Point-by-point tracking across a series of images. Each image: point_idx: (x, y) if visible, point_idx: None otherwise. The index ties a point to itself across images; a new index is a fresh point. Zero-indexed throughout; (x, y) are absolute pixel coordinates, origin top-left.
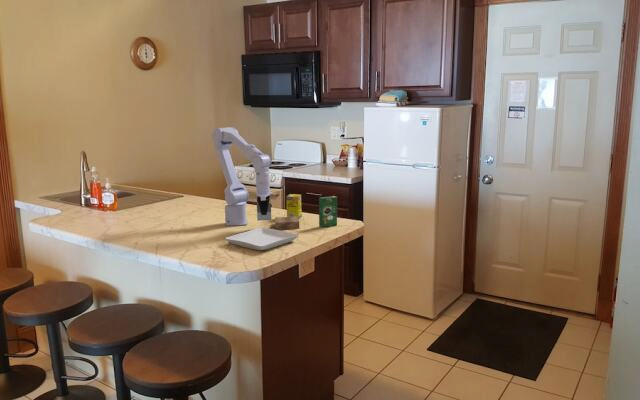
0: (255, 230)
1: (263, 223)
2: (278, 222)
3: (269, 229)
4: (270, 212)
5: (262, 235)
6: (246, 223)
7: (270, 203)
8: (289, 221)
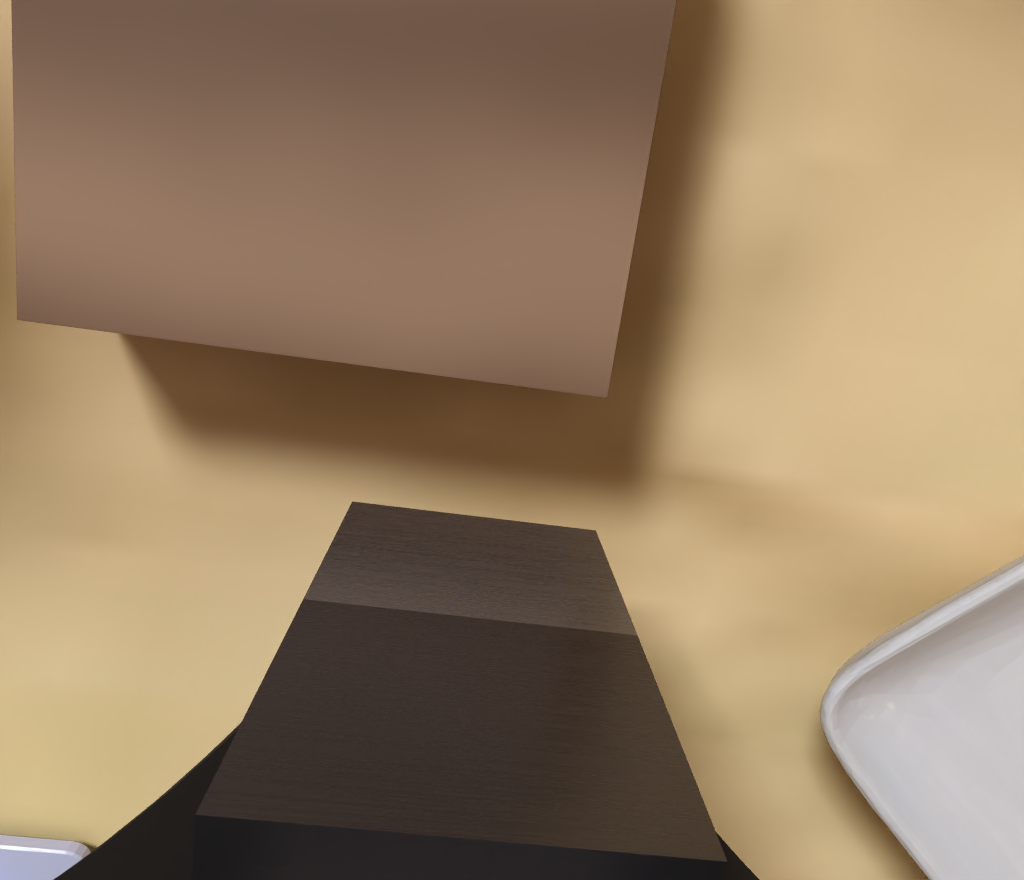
0: (922, 828)
1: (5, 546)
2: (596, 336)
3: (1001, 592)
4: (634, 649)
5: (1011, 685)
6: (44, 858)
7: (544, 859)
8: (594, 22)
